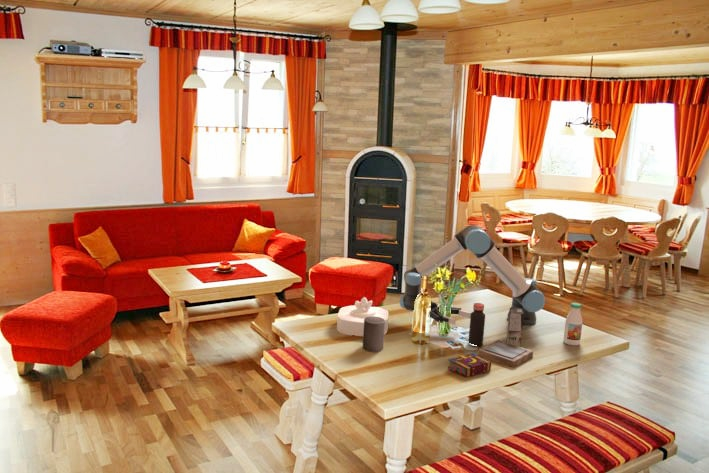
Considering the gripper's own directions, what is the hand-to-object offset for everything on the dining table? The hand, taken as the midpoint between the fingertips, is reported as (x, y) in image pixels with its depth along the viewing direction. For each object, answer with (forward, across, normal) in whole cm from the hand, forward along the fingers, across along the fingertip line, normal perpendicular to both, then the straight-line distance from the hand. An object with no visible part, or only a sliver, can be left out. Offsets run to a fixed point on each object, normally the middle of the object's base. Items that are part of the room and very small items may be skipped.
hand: (462, 318), depth 299 cm
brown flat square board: (+25, +2, -11) cm, 27 cm away
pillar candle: (-22, +40, -11) cm, 47 cm away
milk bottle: (+38, -39, -11) cm, 56 cm away
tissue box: (-44, +23, -11) cm, 51 cm away
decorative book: (+22, +28, -11) cm, 37 cm away
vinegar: (+8, 0, -11) cm, 14 cm away
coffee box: (+19, -18, -11) cm, 28 cm away
